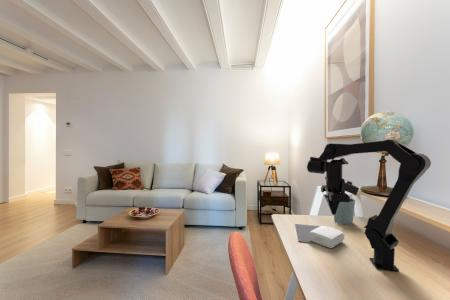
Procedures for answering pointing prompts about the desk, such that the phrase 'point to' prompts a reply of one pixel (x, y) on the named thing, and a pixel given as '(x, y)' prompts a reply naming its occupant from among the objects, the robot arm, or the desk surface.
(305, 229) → the mat
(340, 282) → the desk surface
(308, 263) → the desk surface
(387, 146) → the robot arm
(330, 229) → the photo printer
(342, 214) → the grey-blue cup
